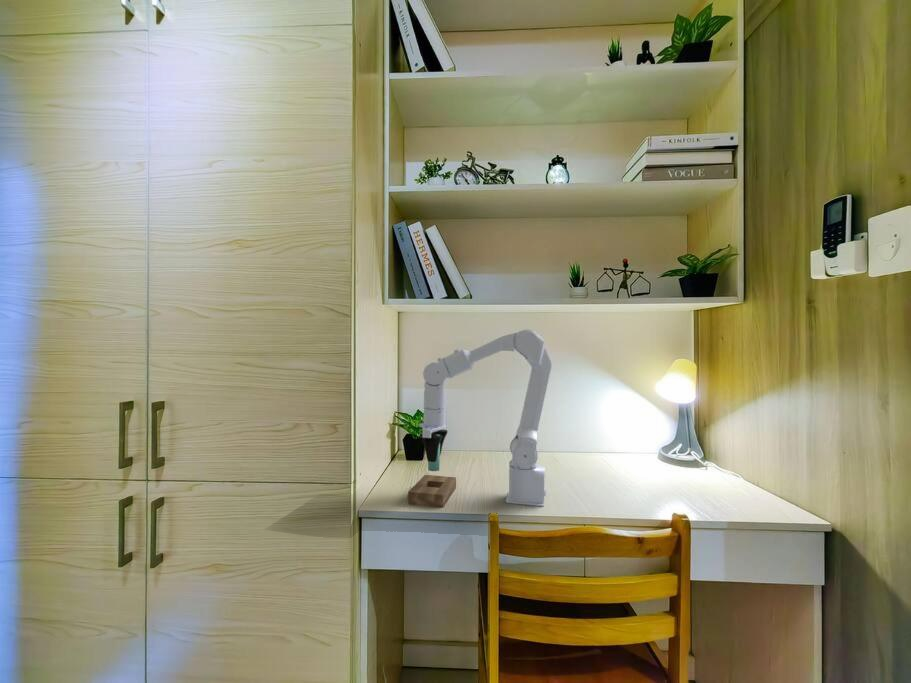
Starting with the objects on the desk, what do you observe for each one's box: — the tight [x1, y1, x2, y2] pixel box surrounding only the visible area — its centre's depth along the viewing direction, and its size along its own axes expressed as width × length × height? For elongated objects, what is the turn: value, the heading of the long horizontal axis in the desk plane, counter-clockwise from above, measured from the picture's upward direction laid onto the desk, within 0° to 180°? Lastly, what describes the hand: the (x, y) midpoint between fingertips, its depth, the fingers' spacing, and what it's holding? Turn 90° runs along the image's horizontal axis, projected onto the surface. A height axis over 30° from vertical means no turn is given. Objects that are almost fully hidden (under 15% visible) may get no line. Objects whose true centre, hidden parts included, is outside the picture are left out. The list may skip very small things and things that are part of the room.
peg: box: [427, 434, 441, 472], centre depth 111 cm, size 3×3×9 cm
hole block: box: [407, 474, 457, 508], centre depth 111 cm, size 9×14×3 cm, turn 167°
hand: (433, 459), depth 111 cm, fingers closed on peg, 3 cm apart
